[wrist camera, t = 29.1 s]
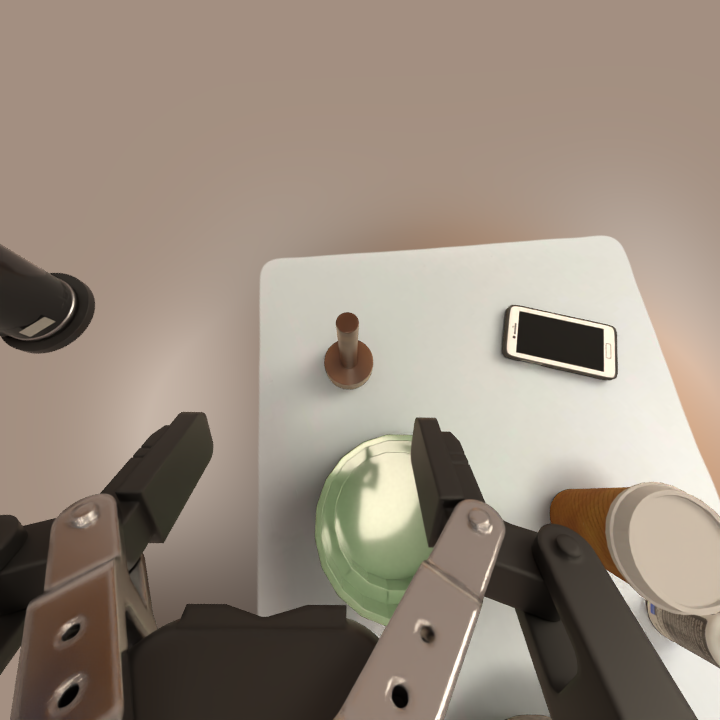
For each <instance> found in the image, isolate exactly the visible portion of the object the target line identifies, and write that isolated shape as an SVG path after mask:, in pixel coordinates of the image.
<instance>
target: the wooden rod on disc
mask: <svg viewBox="0 0 720 720" xmlns="http://www.w3.org/2000/svg"><path fill="white" fill-rule="evenodd" d="M336 329H337V337H338V341H337V342H335V343H334V344H333V345H332V346H331V347H330V348H329V349H328V351H327V353H326V355H325V361H324V364H325V369H326V372H327V375H328V377H329V379H330V380H331V381H332V383H334V384H335V385H336V386H338V387H340V388H343V389H355V388H358V387H360V386H362V385H363V384H364V383H365V382H366V381H367V380H368V379H369V377H370V375H371V372H372V367H373V356H372V353H371V351H370V349H369V348H368V347H367V346H366V345H365V344H364V343H362V342H361V341H358V330H359V321H358V318H357V317H356V316H355V315H354V314H352V313H349V312H346V313H342V314H341V315H339V316H338V318H337V320H336Z"/></svg>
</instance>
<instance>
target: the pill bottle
mask: <svg viewBox="0 0 720 720" xmlns="http://www.w3.org/2000/svg"><path fill="white" fill-rule="evenodd" d="M647 608H648V614H649V617H650V620H651V622H652V623H653V625H654V626H655V628H656V629H657V630H658V631H659V632H660V633H661V634H662V635H663V636H665V637H666V638H668V639H670V640H671V641H673V642H675V643H677V644H679V645H680V646H682V647H684V648H685V649H687V650H689V651H691V652H693V653H694V654H696V655H698V656H700V657H701V658H703V659H705V660H707V661H708V662H710V663H712V664H713V665H715V666H717V667H718V668H720V612H718V613H716V614H710V615H701V616H698V615H681V614H674V613H670V612H668V611H666V610H663V609H661V608H658V607H656V606H654V605H653V604H651V603H650V602H649V601H648V603H647Z"/></svg>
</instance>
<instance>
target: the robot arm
mask: <svg viewBox="0 0 720 720" xmlns="http://www.w3.org/2000/svg"><path fill="white" fill-rule="evenodd" d="M78 308H79V298H78V294H77V292H76V291H75V289H74V288H73V287H72V286H71V285H69V284H68V283H66V282H64V281H63V280H61V279H58V278H56V277H54V276H53V275H51V274H49V273H48V272H46V271H44V270H43V269H41V268H40V267H38V266H36V265H34V264H33V263H31V262H30V261H28V260H26V259H25V258H23V257H21V256H20V255H18V254H16V253H14V252H13V251H11V250H10V249H8V248H6V247H5V246H3V245H1V244H0V336H2V337H5V338H8V339H9V338H17V339H19V340H22V341H27V342H39V341H44V340H47V339H50V338H52V337H54V336H56V335H58V334H59V333H61V332H62V331H63V330H65V329H66V328H67V327H68V326H69V325H70V324H71V322H72V321H73V319H74V318H75V316H76V314H77V311H78ZM212 453H213V441H212V437H211V433H210V429H209V425H208V421H207V418H206V415H205V413H202V412H181V413H180V414H179V415H178V416H177V417H176V418H175V419H174V421H173V422H172V423H171V424H170V425H166V426H164V427H162V428H161V429H159V430H158V431H156V432H155V433H153V434H152V435H151V436H150V437H149V438H148V439H147V440H146V442H145V443H144V444H143V445H142V447H141V448H140V449H139V450H138V451H137V452H136V453H135V454H134V455H133V458H131V459H130V460H129V461H128V462H127V463H126V464H125V465H124V467H123V468H122V469H121V470H120V471H119V472H118V474H117V475H116V476H115V477H114V478H113V479H112V480H111V482H110V483H109V484H108V485H107V486H106V487H105V488H104V490H103V491H102V492H101V493H100V494H95V495H92V496H89V497H85V498H83V499H81V500H79V501H77V502H75V503H74V504H72V505H70V506H69V507H68V508H67V509H65V510H64V511H63V512H62V513H61V514H60V515H59V516H58V517H57V518H54V519H50V520H46V521H42V522H38V523H34V524H30V525H25V526H22V525H21V523H20V522H19V521H18V519H17V518H16V517H14V516H12V515H0V675H1V673H2V672H3V670H4V669H5V667H6V666H7V664H8V663H9V662H10V660H11V659H12V657H13V656H14V655H15V653H16V652H17V650H18V649H19V648H20V646H21V650H20V657H19V664H18V671H17V677H16V684H15V691H14V697H13V703H12V710H11V717H10V720H444V717H445V714H446V711H447V708H448V705H449V702H450V700H451V697H452V694H453V691H454V688H455V685H456V682H457V679H458V676H459V673H460V670H461V667H462V664H463V661H464V658H465V655H466V652H467V649H468V646H469V643H470V640H471V637H472V634H473V631H474V628H475V625H476V622H477V619H478V616H479V613H480V610H481V607H482V603H483V598H484V596H485V597H487V598H490V599H493V600H495V601H498V602H500V603H503V604H506V605H508V606H511V607H514V608H515V610H516V613H517V616H518V619H519V622H520V625H521V628H522V631H523V635H524V638H525V641H526V644H527V647H528V650H529V653H530V656H531V659H532V662H533V665H534V668H535V671H536V674H537V677H538V680H539V683H540V686H541V689H542V692H543V695H544V698H545V701H546V704H547V707H548V710H549V713H550V716H551V719H552V720H698V719H697V717H696V716H695V714H694V712H693V711H692V709H691V707H690V706H689V704H688V703H687V701H686V699H685V698H684V696H683V694H682V693H681V691H680V690H679V688H678V686H677V685H676V683H675V681H674V680H673V678H672V676H671V675H670V673H669V672H668V670H667V668H666V667H665V665H664V663H663V662H662V660H661V659H660V657H659V655H658V654H657V652H656V650H655V649H654V647H653V646H652V644H651V642H650V641H649V639H648V637H647V636H646V634H645V632H644V631H643V629H642V628H641V626H640V624H639V623H638V621H637V619H636V618H635V616H634V615H633V613H632V611H631V610H630V608H629V606H628V605H627V603H626V601H625V600H624V598H623V597H622V595H621V593H620V592H619V590H618V588H617V587H616V585H615V584H614V582H613V580H612V579H611V577H610V575H609V574H608V572H607V570H606V569H605V567H604V566H603V564H602V562H601V561H600V559H599V557H598V556H597V554H596V553H595V551H594V549H593V548H592V547H591V545H590V544H589V543H588V542H587V541H586V540H585V539H584V538H583V537H582V536H580V535H579V534H578V533H576V532H575V531H573V530H571V529H570V528H567V527H565V526H562V525H559V524H546V525H544V526H542V527H541V528H540V530H539V531H538V532H534V531H531V530H528V529H525V528H522V527H518V526H515V525H512V524H510V523H508V522H506V521H504V520H502V518H501V516H500V515H499V514H498V512H497V511H496V510H495V509H493V508H492V507H491V506H489V505H488V504H486V503H485V501H484V499H483V496H482V494H481V491H480V489H479V487H478V484H477V482H476V479H475V477H474V475H473V472H472V470H471V467H470V465H468V460H467V458H466V456H465V455H464V451H463V448H462V446H461V444H460V441H459V440H458V439H457V438H456V437H455V436H454V435H453V434H452V433H451V432H441V430H440V427H439V424H438V421H437V419H436V418H416V419H415V423H414V430H413V437H412V444H411V464H412V469H413V474H414V479H415V484H416V489H417V494H418V498H419V503H420V508H421V513H422V518H423V523H424V528H425V533H426V538H427V543H428V548H433V550H432V552H431V554H430V555H429V557H428V559H427V560H424V561H423V562H422V563H421V564H420V566H419V568H418V569H417V571H416V573H415V575H414V577H413V579H412V580H411V582H410V584H409V586H408V588H407V590H406V591H405V593H404V595H403V597H402V599H401V600H400V602H399V604H398V606H397V608H396V610H395V611H394V613H393V615H392V617H391V619H390V621H389V622H388V624H387V626H386V628H385V630H384V632H383V633H382V635H381V637H380V639H379V638H378V637H377V636H376V635H375V634H374V633H373V632H372V631H370V630H369V629H368V628H366V627H365V626H363V625H361V624H360V623H358V622H356V621H354V620H351V619H348V618H346V605H306V606H303V607H299V608H296V609H292V610H289V611H286V612H282V613H279V614H275V615H272V616H269V617H261V616H258V615H255V614H252V613H249V612H246V611H244V610H241V609H238V608H235V607H232V606H230V605H227V604H187V605H186V607H185V610H184V612H183V614H182V617H181V619H178V620H176V621H173V622H171V623H168V624H166V625H165V626H162V627H161V628H159V629H158V627H157V624H156V621H155V618H154V615H153V610H152V604H151V597H150V591H149V584H148V577H147V570H146V563H145V557H144V554H143V551H144V549H145V548H146V546H147V544H148V543H164V541H165V540H166V538H167V536H168V534H169V532H170V531H171V529H172V527H173V525H174V524H175V522H176V520H177V518H178V516H179V515H180V513H181V511H182V509H183V508H184V506H185V504H186V502H187V500H188V499H189V496H190V495H191V493H192V492H193V489H194V488H195V486H196V484H197V483H198V481H199V479H200V477H201V476H202V474H203V472H204V470H205V468H206V467H207V465H208V463H209V461H210V459H211V457H212Z"/></svg>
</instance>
